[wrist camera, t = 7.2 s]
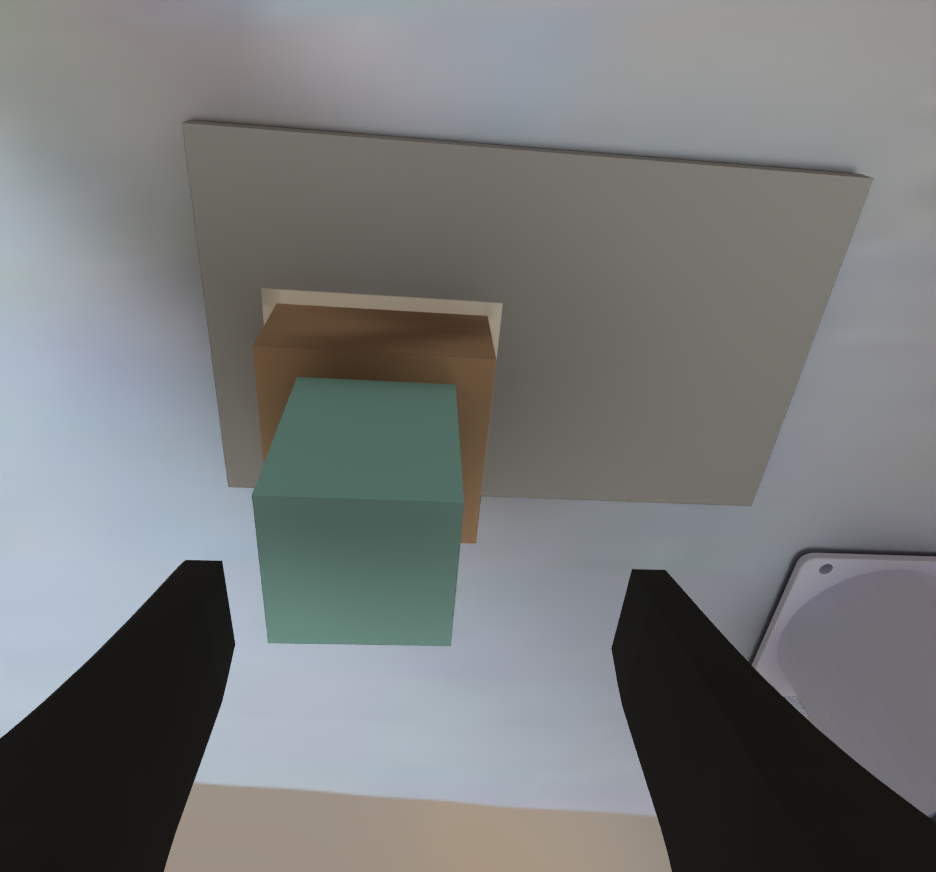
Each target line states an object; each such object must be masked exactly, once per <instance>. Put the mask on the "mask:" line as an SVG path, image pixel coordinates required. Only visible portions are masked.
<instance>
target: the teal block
mask: <svg viewBox="0 0 936 872" xmlns="http://www.w3.org/2000/svg"><path fill="white" fill-rule="evenodd" d="M252 500H253V509H254V518H255V528H256V537H257V546H258V555H259V564H260V573H261V583H262V592H263V601H264V610H265V619H266V629H267V638H268V643H294V644H357V645H421V646H451V637H452V627H453V616H454V605H455V594H456V584H457V573H458V562H459V552H460V541H461V530H462V519H463V509H464V494H463V480H462V467H461V453H460V439H459V425H458V411H457V397H456V384H435V383H414V382H393V381H372V380H351V379H330V378H309V377H297V378H296V381H295V383H294V386H293V388H292V391H291V394H290V396H289V399H288V402H287V404H286V407H285V410H284V412H283V415H282V417H281V420H280V423H279V425H278V428H277V431H276V433H275V436H274V439H273V441H272V444H271V446H270V449H269V452H268V454H267V457H266V460H265V462H264V465H263V468H262V470H261V473H260V475H259V478H258V481H257V483H256V486H255V489H254V491H253V494H252Z"/></svg>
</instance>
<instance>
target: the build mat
mask: <svg viewBox="0 0 936 872" xmlns="http://www.w3.org/2000/svg"><path fill="white" fill-rule="evenodd" d="M182 126H183V134H184V142H185V150H186V158H187V166H188V174H189V181H190V189H191V197H192V205H193V213H194V221H195V229H196V237H197V245H198V252H199V260H200V268H201V276H202V284H203V292H204V300H205V308H206V316H207V323H208V331H209V339H210V347H211V355H212V363H213V371H214V379H215V387H216V394H217V402H218V410H219V418H220V426H221V434H222V442H223V450H224V458H225V465H226V473H227V481H228V487H244V488H255V486H256V483H257V481H258V478H259V475H260V473H261V470H262V468H263V454H262V443H261V432H260V421H259V410H258V399H257V389H256V378H255V367H254V356H253V345H254V343H255V341H256V340H257V338H258V336H259V334H260V332H261V331H262V329H263V327H264V325H265V323H266V322H267V320H268V318H269V316H270V314H271V313H272V311H273V309H274V307H275V305H276V303H278V304H295V305H312V306H329V307H346V308H363V309H380V310H397V311H414V312H431V313H447V314H464V315H481V316H488V320H489V325H490V330H491V335H492V340H493V345H494V350H495V355H496V367H495V376H494V385H493V394H492V403H491V412H490V421H489V430H488V439H487V447H486V456H485V465H484V474H483V483H482V492H481V496H489V497H517V498H544V499H571V500H599V501H626V502H653V503H681V504H708V505H735V506H752V503H753V500H754V498H755V495H756V492H757V490H758V487H759V484H760V482H761V479H762V476H763V473H764V471H765V468H766V465H767V463H768V460H769V457H770V455H771V452H772V449H773V447H774V444H775V441H776V439H777V436H778V433H779V431H780V428H781V425H782V423H783V420H784V417H785V414H786V412H787V409H788V406H789V404H790V401H791V398H792V396H793V393H794V390H795V388H796V385H797V382H798V380H799V377H800V374H801V372H802V369H803V366H804V364H805V361H806V358H807V355H808V353H809V350H810V347H811V345H812V342H813V339H814V337H815V334H816V331H817V329H818V326H819V323H820V321H821V318H822V315H823V313H824V310H825V307H826V305H827V302H828V299H829V296H830V294H831V291H832V288H833V286H834V283H835V280H836V278H837V275H838V272H839V270H840V267H841V264H842V262H843V259H844V256H845V254H846V251H847V248H848V246H849V243H850V240H851V237H852V235H853V232H854V229H855V227H856V224H857V221H858V219H859V216H860V213H861V211H862V208H863V205H864V203H865V200H866V197H867V195H868V192H869V189H870V187H871V184H872V181H873V178H871V177H868V176H865V175H862V174H852V173H839V172H827V171H814V170H802V169H790V168H777V167H765V166H752V165H740V164H728V163H715V162H703V161H690V160H678V159H666V158H653V157H641V156H628V155H616V154H604V153H591V152H579V151H566V150H554V149H542V148H529V147H517V146H504V145H492V144H480V143H467V142H455V141H442V140H430V139H418V138H405V137H393V136H380V135H368V134H356V133H343V132H331V131H318V130H306V129H294V128H281V127H269V126H256V125H244V124H232V123H219V122H207V121H194V120H189V121H186V122H183V123H182Z"/></svg>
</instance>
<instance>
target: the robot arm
mask: <svg viewBox="0 0 936 872" xmlns="http://www.w3.org/2000/svg"><path fill="white" fill-rule="evenodd" d="M825 564H826V565H825ZM823 565H824V566H823ZM821 566H822V567H821ZM234 647H235V640H234V634H233V628H232V621H231V615H230V609H229V602H228V596H227V590H226V583H225V577H224V570H223V564H222V561H203V560H185V561H184V562H183V563H182V564H181V565H180V566H179V567H178V568H177V569H176V570H175V571H174V572H173V573H172V574H171V575H170V576H169V577H168V578H167V579H166V581H165V582H164V583H163V584H162V585H161V586H160V587H159V588H158V589H157V590H156V591H155V592H154V593H153V595H152V596H151V597H150V598H149V599H148V600H147V601H146V602H145V603H144V604H143V605H142V606H141V607H140V608H139V609H138V610H137V612H136V613H135V614H134V615H133V616H132V617H131V618H130V619H129V620H128V621H127V622H126V623H125V624H124V625H123V626H122V627H121V628H120V629H119V630H118V631H117V632H116V633H115V634H114V635H113V636H112V637H111V638H110V639H109V640H108V641H107V642H106V643H105V644H104V645H103V646H102V647H101V648H100V649H99V650H98V651H97V652H96V653H95V654H94V655H93V656H92V657H91V658H90V659H89V660H88V661H87V662H86V663H85V664H84V665H83V666H82V667H81V668H80V669H78V670H77V671H76V672H75V673H74V674H73V675H72V676H71V677H70V678H69V679H68V680H67V681H65V682H64V683H63V684H62V685H61V686H60V687H59V688H58V689H57V690H56V691H55V692H54V693H52V694H51V695H50V696H49V697H48V698H47V699H46V700H45V701H44V702H43V703H42V704H40V705H39V706H38V707H37V708H36V709H35V710H34V711H32V712H31V713H30V714H29V715H28V716H27V717H25V718H24V719H23V720H22V721H21V722H20V723H18V724H17V725H16V726H15V727H14V728H12V729H11V730H10V731H9V732H8V733H6V734H5V735H4V736H3V737H1V738H0V872H164V869H165V865H166V861H167V858H168V855H169V852H170V849H171V845H172V842H173V839H174V836H175V833H176V830H177V827H178V824H179V822H180V819H181V816H182V813H183V810H184V808H185V805H186V802H187V799H188V796H189V794H190V791H191V788H192V785H193V782H194V780H195V777H196V774H197V771H198V768H199V766H200V763H201V760H202V757H203V754H204V752H205V749H206V746H207V743H208V740H209V738H210V735H211V732H212V729H213V726H214V723H215V720H216V718H217V715H218V712H219V709H220V706H221V703H222V700H223V696H224V691H225V687H226V683H227V679H228V675H229V670H230V665H231V661H232V656H233V651H234ZM612 654H613V659H614V665H615V671H616V677H617V682H618V687H619V692H620V697H621V702H622V706H623V709H624V712H625V716H626V719H627V722H628V725H629V729H630V732H631V735H632V738H633V742H634V745H635V748H636V751H637V754H638V758H639V761H640V764H641V767H642V770H643V773H644V776H645V780H646V783H647V786H648V789H649V792H650V795H651V798H652V802H653V805H654V808H655V811H656V814H657V817H658V821H659V824H660V826H661V830H662V834H663V837H664V841H665V845H666V849H667V852H668V856H669V860H670V865H671V869H672V872H936V556H904V555H872V554H839V553H808V554H805V555H803V556H802V557H801V558H800V559H799V560H798V561H797V563H796V565H795V568H794V570H793V572H792V575H791V577H790V579H789V581H788V584H787V586H786V588H785V590H784V593H783V595H782V597H781V600H780V602H779V604H778V606H777V609H776V611H775V613H774V615H773V618H772V620H771V622H770V624H769V627H768V629H767V631H766V634H765V636H764V638H763V640H762V643H761V645H760V647H759V649H758V652H757V654H756V656H755V659H754V661H753V663H752V665H751V664H750V663H749V662H748V661H747V660H746V659H745V658H744V657H743V656H742V655H741V654H740V653H739V652H738V651H737V649H736V648H735V647H734V646H733V645H732V644H731V643H730V642H729V641H728V640H727V639H726V638H725V637H724V635H723V634H722V633H721V632H720V631H719V630H718V629H717V628H716V627H715V626H714V624H713V623H712V622H711V621H710V620H709V619H708V618H707V617H706V615H705V614H704V613H703V612H702V611H701V610H700V609H699V608H698V606H697V605H696V604H695V603H694V602H693V601H692V600H691V598H690V597H689V596H688V595H687V594H686V593H685V592H684V591H683V589H682V588H681V587H680V586H679V585H678V584H677V583H676V581H675V580H674V579H673V578H672V577H671V576H670V575H669V574H668V573H667V571H666V570H639V569H632V572H631V576H630V579H629V583H628V587H627V591H626V595H625V599H624V603H623V606H622V610H621V614H620V618H619V622H618V626H617V630H616V633H615V637H614V641H613V645H612ZM783 696H792V697H797V698H798V699H799V701H800V703H801V705H802V707H803V708H804V710H805V712H806V714H807V716H808V718H809V719H810V721H811V722H810V721H808V720H807V719H806V718H805V717H804V716H803V715H802V714H801V713H800V712H799V711H798V710H797V709H795V708H794V707H793V706H792V705H791V704H790V703H789V702H788V701H787V700H786V699H785V698H784V697H783Z"/></svg>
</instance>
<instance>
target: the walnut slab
mask: <svg viewBox="0 0 936 872" xmlns="http://www.w3.org/2000/svg"><path fill="white" fill-rule="evenodd" d="M253 356H254V367H255V378H256V389H257V399H258V410H259V421H260V432H261V443H262V454H263V465H264V462H265V460H266V457H267V454H268V452H269V449H270V446H271V444H272V441H273V439H274V436H275V433H276V431H277V428H278V425H279V423H280V420H281V417H282V415H283V412H284V410H285V407H286V404H287V402H288V399H289V396H290V394H291V391H292V388H293V386H294V383H295V381H296V378H297V377H309V378H330V379H351V380H372V381H393V382H414V383H435V384H456V397H457V411H458V425H459V439H460V453H461V467H462V480H463V494H464V509H463V519H462V530H461V541H460V543H476V536H477V528H478V519H479V510H480V501H481V492H482V483H483V474H484V465H485V456H486V447H487V439H488V430H489V421H490V412H491V403H492V394H493V385H494V376H495V367H496V355H495V350H494V345H493V340H492V335H491V330H490V325H489V320H488V316H481V315H464V314H447V313H431V312H414V311H397V310H380V309H363V308H346V307H329V306H312V305H295V304H278V303H276V305H275V307H274V309H273V311H272V313H271V314H270V316H269V318H268V320H267V322H266V323H265V325H264V327H263V329H262V331H261V332H260V334H259V336H258V338H257V340H256V341H255V343H254V345H253Z"/></svg>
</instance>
